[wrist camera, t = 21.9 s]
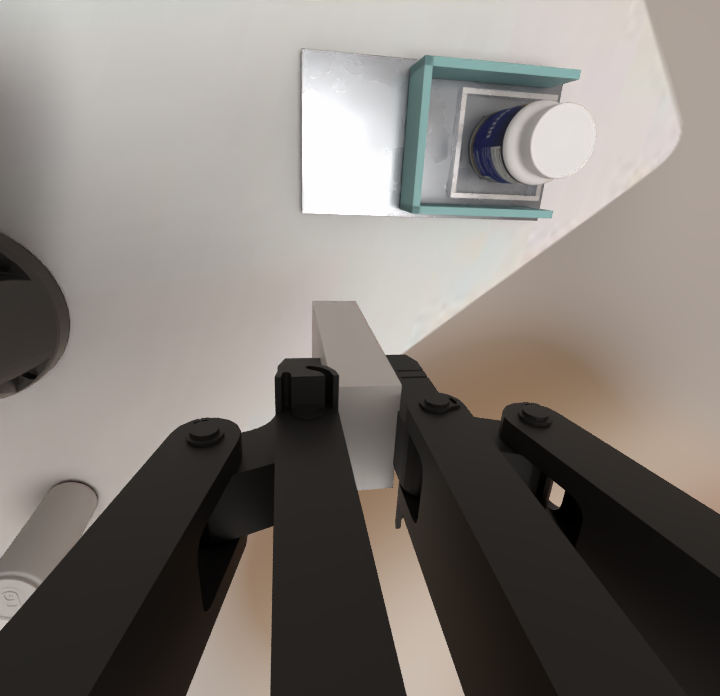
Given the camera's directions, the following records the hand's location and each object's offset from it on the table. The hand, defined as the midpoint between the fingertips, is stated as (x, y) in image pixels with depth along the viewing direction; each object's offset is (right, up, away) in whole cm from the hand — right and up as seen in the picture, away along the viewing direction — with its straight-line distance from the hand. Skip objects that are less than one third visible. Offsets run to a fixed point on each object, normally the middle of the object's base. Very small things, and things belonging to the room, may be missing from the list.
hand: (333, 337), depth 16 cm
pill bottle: (+13, +17, +23) cm, 32 cm away
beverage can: (-29, -16, +30) cm, 45 cm away
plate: (+7, +18, +23) cm, 30 cm away
